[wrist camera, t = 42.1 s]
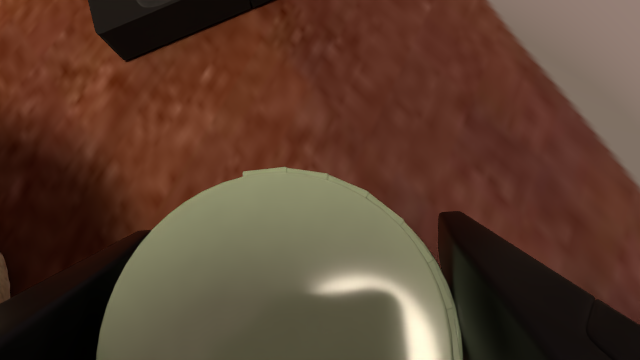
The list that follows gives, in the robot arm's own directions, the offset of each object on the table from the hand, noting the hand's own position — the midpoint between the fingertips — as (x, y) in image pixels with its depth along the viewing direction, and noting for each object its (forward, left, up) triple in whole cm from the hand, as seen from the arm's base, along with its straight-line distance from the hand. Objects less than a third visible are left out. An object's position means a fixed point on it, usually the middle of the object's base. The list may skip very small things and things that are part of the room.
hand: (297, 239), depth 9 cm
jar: (-2, 0, -7) cm, 7 cm away
